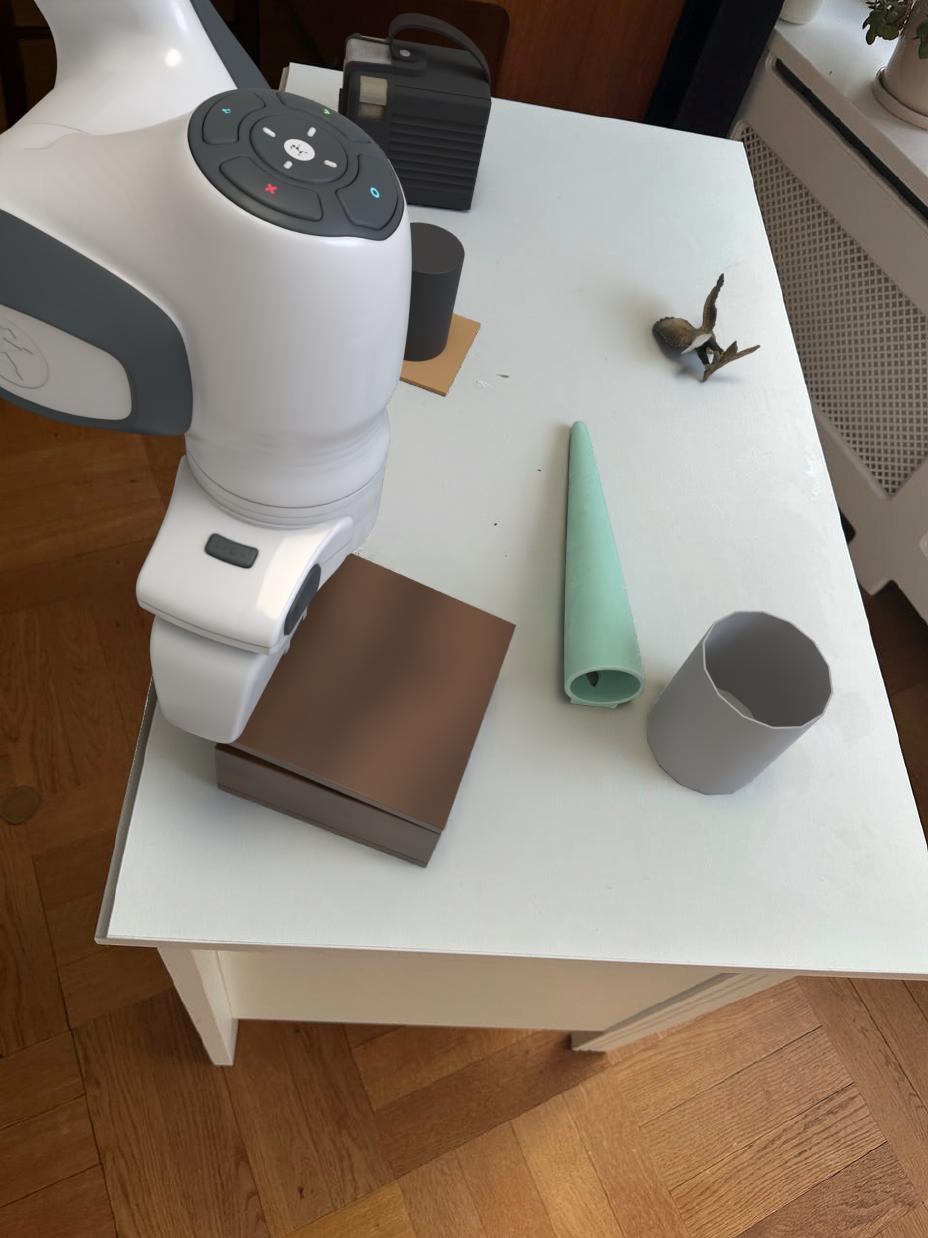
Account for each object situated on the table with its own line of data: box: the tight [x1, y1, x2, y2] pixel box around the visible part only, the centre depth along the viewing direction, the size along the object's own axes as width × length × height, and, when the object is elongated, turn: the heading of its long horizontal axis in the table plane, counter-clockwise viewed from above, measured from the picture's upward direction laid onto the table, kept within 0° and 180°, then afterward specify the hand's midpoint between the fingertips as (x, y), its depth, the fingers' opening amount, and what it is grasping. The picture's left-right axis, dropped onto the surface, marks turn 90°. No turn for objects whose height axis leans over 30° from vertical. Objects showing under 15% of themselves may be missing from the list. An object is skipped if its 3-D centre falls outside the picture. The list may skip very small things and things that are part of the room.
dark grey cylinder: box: [403, 221, 466, 361], centre depth 78 cm, size 6×6×9 cm
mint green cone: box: [563, 420, 647, 709], centre depth 70 cm, size 5×6×27 cm
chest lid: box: [226, 552, 517, 835], centre depth 55 cm, size 14×15×1 cm
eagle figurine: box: [653, 272, 761, 383], centre depth 86 cm, size 8×7×9 cm
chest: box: [213, 742, 443, 869], centre depth 59 cm, size 14×15×6 cm
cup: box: [646, 610, 834, 796], centre depth 61 cm, size 8×8×10 cm
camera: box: [337, 12, 493, 211], centre depth 89 cm, size 11×14×15 cm
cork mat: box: [399, 312, 482, 397], centre depth 82 cm, size 10×10×1 cm
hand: (282, 632), depth 55 cm, fingers closed, pressing on chest lid
